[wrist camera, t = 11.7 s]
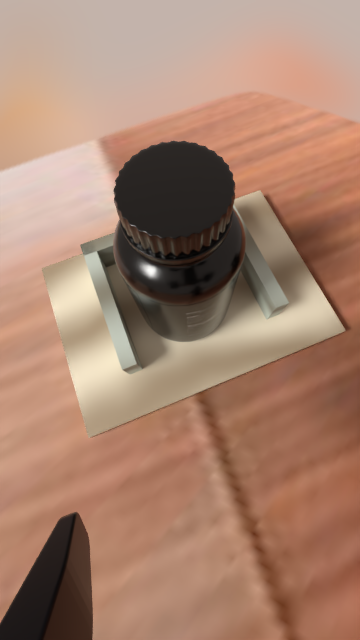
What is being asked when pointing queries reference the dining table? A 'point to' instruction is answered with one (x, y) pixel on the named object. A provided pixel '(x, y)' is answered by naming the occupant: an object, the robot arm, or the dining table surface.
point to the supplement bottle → (178, 238)
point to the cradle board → (182, 357)
